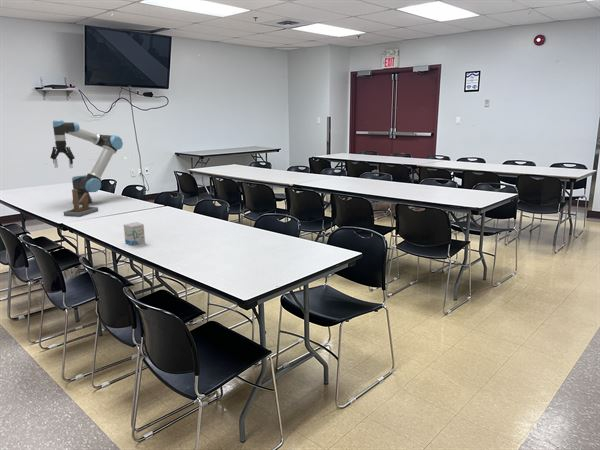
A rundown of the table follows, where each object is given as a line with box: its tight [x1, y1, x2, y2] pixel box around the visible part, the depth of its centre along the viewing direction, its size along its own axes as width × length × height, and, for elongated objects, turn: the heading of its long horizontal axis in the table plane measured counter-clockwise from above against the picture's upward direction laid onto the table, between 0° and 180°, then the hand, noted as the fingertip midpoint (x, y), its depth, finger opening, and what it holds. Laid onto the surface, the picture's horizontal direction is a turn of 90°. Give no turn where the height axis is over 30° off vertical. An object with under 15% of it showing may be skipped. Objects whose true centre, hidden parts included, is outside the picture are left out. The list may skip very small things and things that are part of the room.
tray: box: [63, 206, 99, 218], centre depth 352 cm, size 21×14×3 cm, turn 167°
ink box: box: [123, 221, 146, 246], centre depth 272 cm, size 8×8×12 cm
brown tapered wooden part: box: [71, 189, 90, 213], centre depth 350 cm, size 4×11×18 cm, turn 144°
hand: (63, 167), depth 361 cm, fingers open, 13 cm apart
